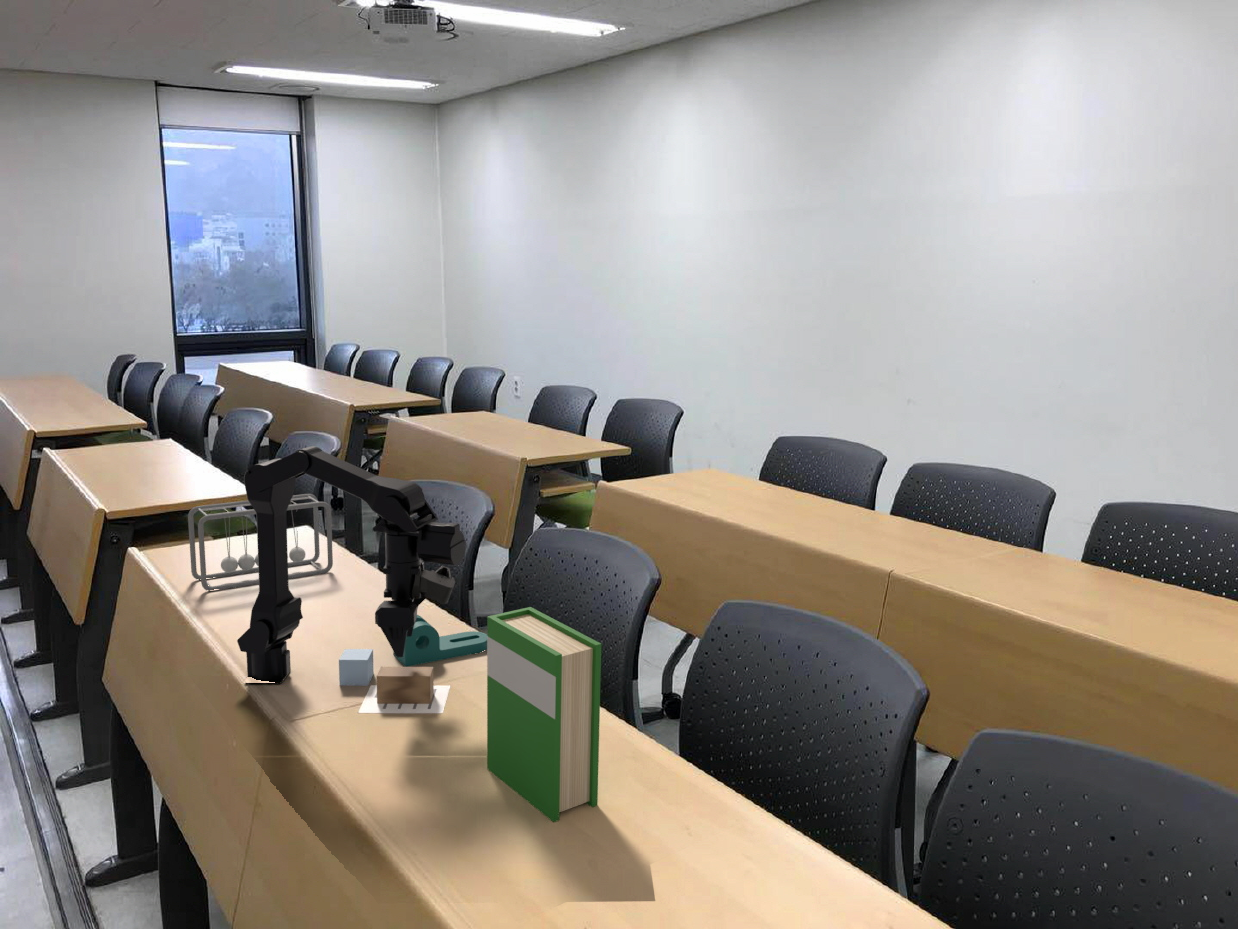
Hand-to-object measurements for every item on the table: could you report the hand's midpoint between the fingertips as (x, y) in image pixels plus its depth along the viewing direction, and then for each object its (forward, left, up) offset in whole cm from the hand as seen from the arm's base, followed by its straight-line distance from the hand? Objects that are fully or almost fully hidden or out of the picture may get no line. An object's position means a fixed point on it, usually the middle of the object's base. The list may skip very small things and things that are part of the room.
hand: (404, 646), depth 167 cm
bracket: (+4, +21, -10) cm, 24 cm away
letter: (0, 0, -10) cm, 10 cm away
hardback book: (+24, -29, -10) cm, 39 cm away
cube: (-10, +8, -10) cm, 16 cm away
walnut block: (0, 0, -10) cm, 10 cm away
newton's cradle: (-44, +67, -10) cm, 81 cm away
